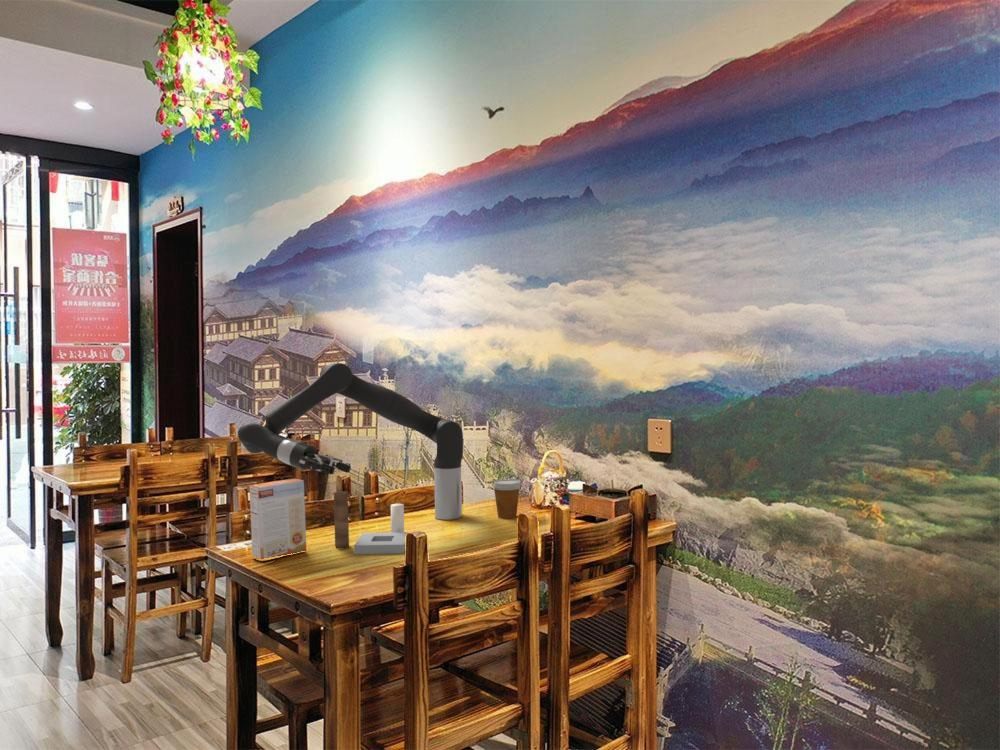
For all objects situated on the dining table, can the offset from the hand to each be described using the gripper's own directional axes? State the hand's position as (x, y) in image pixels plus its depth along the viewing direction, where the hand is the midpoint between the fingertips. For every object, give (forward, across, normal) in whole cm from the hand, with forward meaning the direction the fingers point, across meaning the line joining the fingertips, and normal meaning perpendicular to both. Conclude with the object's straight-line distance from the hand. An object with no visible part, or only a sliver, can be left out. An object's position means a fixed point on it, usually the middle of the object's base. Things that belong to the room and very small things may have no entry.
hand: (341, 470), depth 213 cm
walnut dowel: (+5, +3, +22) cm, 23 cm away
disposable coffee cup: (+36, +52, +8) cm, 64 cm away
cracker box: (-6, -10, +27) cm, 29 cm away
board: (+16, +6, +18) cm, 25 cm away
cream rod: (+15, +17, +18) cm, 29 cm away
